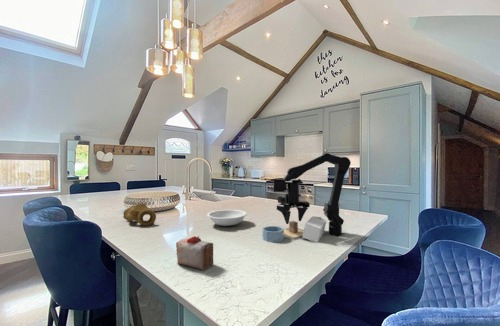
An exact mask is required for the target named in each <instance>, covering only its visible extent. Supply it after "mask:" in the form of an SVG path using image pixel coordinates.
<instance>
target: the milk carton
mask: <svg viewBox="0 0 500 326" xmlns="http://www.w3.org/2000/svg"><path fill="white" fill-rule="evenodd" d="M326 224H327V220H326V219H324V218H322V216H311V217H310V218H309V219H308V220H307V221H306V222H305V223H304V228H303V230H304V231H303V236H302V237H303V238H302V239H306V240H308V241H311V242H315V243H318V242H319V240H320V239H321V237H322V236H323V235H324V232H325V229H326Z"/></svg>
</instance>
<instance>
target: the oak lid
mask: <svg viewBox="0 0 500 326" xmlns="http://www.w3.org/2000/svg"><path fill="white" fill-rule="evenodd" d="M298 224H299V221H294V220H292V221H289V223H288V226H289V227H287V228H283V229H284V235H285V236H287V237H290V238H293V239H295V238H299V237H302V236H303V231H304V229H303V228H302V229H301V228H298V226H299V225H298Z"/></svg>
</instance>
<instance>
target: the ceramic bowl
mask: <svg viewBox="0 0 500 326" xmlns="http://www.w3.org/2000/svg"><path fill="white" fill-rule="evenodd" d="M284 229H285V228H283V227H281V226H277V225H269V226H268V225H267V226H264V227H262V236H261V237H262V240H263V241H265V242H269V243H280V242H282V241H284V238H285V237H284Z"/></svg>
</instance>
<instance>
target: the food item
mask: <svg viewBox="0 0 500 326" xmlns="http://www.w3.org/2000/svg"><path fill="white" fill-rule="evenodd" d="M175 246H176V247H175V248H176V254H175V255H176V258H177V260H176V261H177V264H178V265H184V266H187V267H190V268H191V267H192V268H195V269H199V270H203V271H206V270H208V269H209V268H210V267H211V266H213V265H214V243H213V242H209V241H204V240H201V238H200V235H198V236H191V237H190V238H182V239H180V240H178V241H176V245H175Z"/></svg>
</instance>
